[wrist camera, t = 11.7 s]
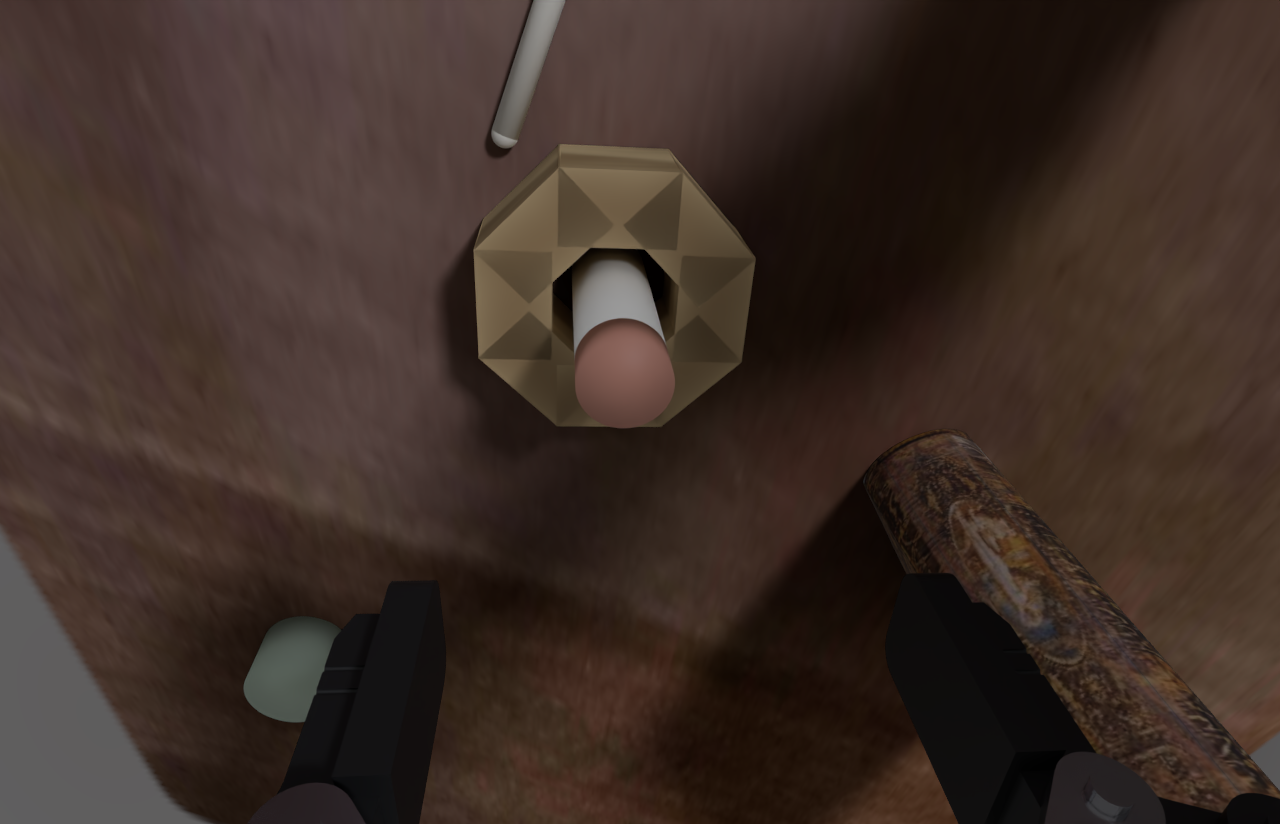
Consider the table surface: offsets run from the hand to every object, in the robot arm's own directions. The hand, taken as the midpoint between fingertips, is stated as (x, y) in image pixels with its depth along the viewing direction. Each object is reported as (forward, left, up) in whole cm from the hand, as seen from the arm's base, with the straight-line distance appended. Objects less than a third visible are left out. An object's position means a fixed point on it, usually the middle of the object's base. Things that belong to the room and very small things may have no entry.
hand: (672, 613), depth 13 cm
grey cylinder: (0, +1, -21) cm, 21 cm away
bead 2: (0, +1, -21) cm, 21 cm away
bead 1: (+15, +22, -21) cm, 34 cm away
